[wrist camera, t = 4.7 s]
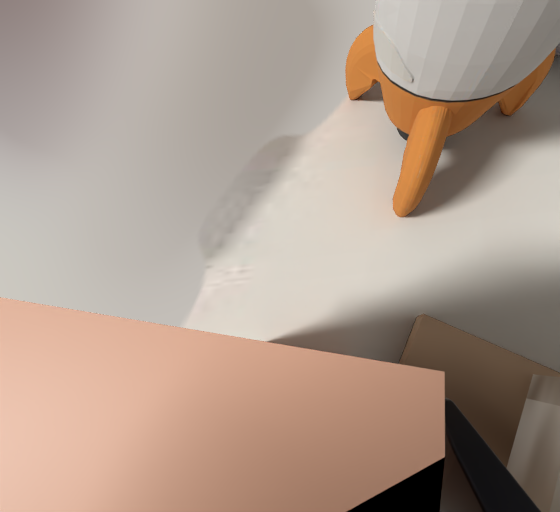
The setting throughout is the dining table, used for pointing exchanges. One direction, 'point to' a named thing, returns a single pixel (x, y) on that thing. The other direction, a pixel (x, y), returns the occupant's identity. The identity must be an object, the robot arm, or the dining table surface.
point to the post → (206, 421)
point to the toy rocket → (449, 70)
